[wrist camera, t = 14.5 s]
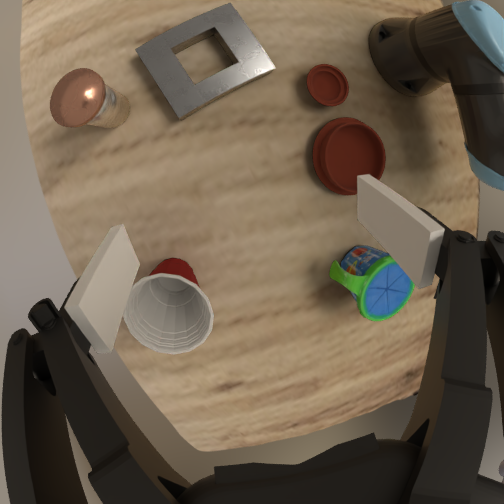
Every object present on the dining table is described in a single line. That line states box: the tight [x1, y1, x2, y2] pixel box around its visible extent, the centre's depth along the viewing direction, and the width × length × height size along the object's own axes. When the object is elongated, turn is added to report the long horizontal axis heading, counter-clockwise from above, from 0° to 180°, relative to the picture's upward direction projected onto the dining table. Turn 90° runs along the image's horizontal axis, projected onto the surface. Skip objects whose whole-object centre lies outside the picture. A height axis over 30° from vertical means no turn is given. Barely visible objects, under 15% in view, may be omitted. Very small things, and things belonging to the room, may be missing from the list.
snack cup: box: [329, 246, 415, 321], centre depth 42 cm, size 16×11×10 cm
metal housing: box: [135, 3, 275, 120], centre depth 29 cm, size 14×12×3 cm
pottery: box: [307, 64, 386, 195], centre depth 36 cm, size 12×20×4 cm, turn 21°
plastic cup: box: [123, 258, 214, 354], centre depth 36 cm, size 11×11×12 cm
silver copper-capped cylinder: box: [50, 68, 130, 128], centre depth 25 cm, size 6×6×13 cm
